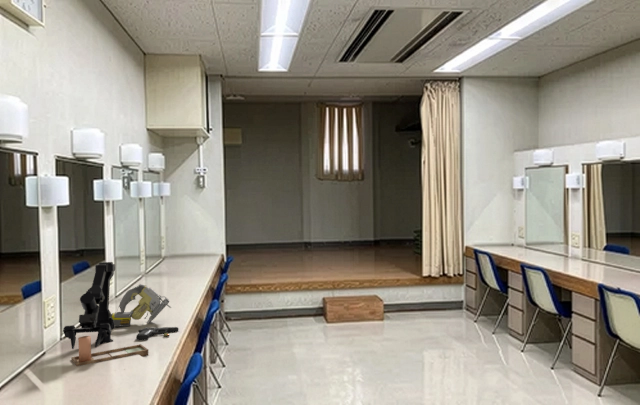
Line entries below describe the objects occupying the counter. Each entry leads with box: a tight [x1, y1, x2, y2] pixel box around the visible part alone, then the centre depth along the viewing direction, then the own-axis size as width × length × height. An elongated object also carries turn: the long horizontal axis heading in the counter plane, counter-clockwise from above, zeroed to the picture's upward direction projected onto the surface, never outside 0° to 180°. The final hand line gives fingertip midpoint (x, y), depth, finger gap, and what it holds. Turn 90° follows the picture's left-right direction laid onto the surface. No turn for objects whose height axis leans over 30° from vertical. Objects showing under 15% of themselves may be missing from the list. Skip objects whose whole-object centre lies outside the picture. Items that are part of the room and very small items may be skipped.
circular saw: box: [111, 283, 172, 327], centre depth 284 cm, size 10×30×25 cm
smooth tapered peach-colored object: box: [78, 335, 92, 362], centre depth 216 cm, size 5×5×10 cm
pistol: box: [136, 326, 180, 341], centre depth 259 cm, size 3×20×15 cm
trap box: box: [71, 343, 149, 367], centre depth 222 cm, size 30×11×2 cm, turn 127°
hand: (84, 348), depth 215 cm, fingers open, 9 cm apart
